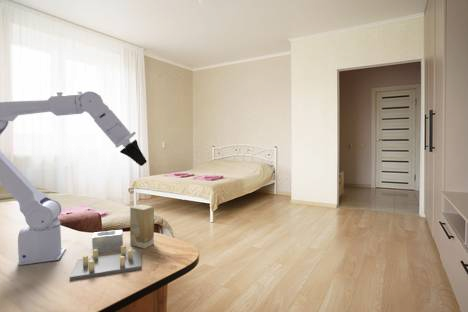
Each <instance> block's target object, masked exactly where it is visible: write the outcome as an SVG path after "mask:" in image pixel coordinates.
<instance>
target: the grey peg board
mask: <svg viewBox="0 0 468 312" xmlns="http://www.w3.org/2000/svg"><path fill="white" fill-rule="evenodd" d="M126 247H127V246H126V245H123V246H121V250H120V253H115V254H109V255H99V253H98V249H94V250H93V249H92V257H89V255H83V256H82V258H81V259H80V258H79V259H77V260H76V262H75V265H74V267H73V269H72V271H71V273H70V275H69V281H74V280H80V279H86V278H87V279H88V278H93V277H100V276H107V275H112V274H119V273H126V272H131V271H139V270H142V258H141V257H142V254H141V250H138V251H133V249H128V250H127V249H126ZM126 251H127V252H126Z"/></svg>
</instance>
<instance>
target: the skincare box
mask: <svg viewBox="0 0 468 312" xmlns="http://www.w3.org/2000/svg"><path fill="white" fill-rule="evenodd" d="M129 211H130V216H129V217H130V218H129V220H130V221H129V223H130V226H129V227H130V229H129V230H130V231H129V233H130V234H129V239H130V241H129V242H130V243H129V244H130V245H131V246H134V247H138V248H142V249H146V248H149V247H150V246H152V245H154V244H155V240H154V239H155V233H154V232H155V206H151V205H145V204H141V203H140V204H138V205H137V204H136V205H134V206H130V207H129Z"/></svg>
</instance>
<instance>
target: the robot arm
mask: <svg viewBox="0 0 468 312" xmlns="http://www.w3.org/2000/svg"><path fill="white" fill-rule="evenodd" d="M85 112H86V113H88V114H89V115H90V116H91V118H92V119H93V121H94V123H95V124H96V125H97V126H98V127H99V128H100V130H101V131H102V132H103V133H104V134H105V136H107V138H109V140H110V141H111V142H112V143H113V144H114V146H115V148H116V149H117V148H119V147H121V146H122V147H123V149H121V150H120V151H119V153H120V154H123V155H124V156H126V157H129V158H130V159H132V161H134V162H135V163H136V164H137V165H139V166H140V167H143V165H145V164H146V163H147V162H148V161H147V160H146V159H147V158H146V157H145V155H144V154H143V152H142V150H141V149H140V147H139V144H138V140H137V139H134V140H133V141H130V139H132V137H134V136H135V135H136V132H135V131H133V132H132V133H131V132H130V130H129V129H128V128H127V127H126V126H125V124H123V122H122V121H121V120H120V119H119V118H118V116H117V115H116V114H115V113H114V111H113V110H111V109H110V108H109V106H108V105H107V104H106V103H104V101H103V98H102V97H101V95H100V94H98V93H97V92H94V91H85V92H84V93H83V92H82V91H77V93H65V94H64V93H63V92H61V91H59V92H58V91H57V92H56V94H53V95H52V94H51V96H50V97H49V98H48V99H42V100H41V99H39V100H20V101H19V100H18V101H13V100H12V101H0V136H1V135H2V134H3V133H4V132H5V130H6V128H7V127H8V125H9V122H14V121H15V120H16V118H18V116H25V115H32V114H43V113H52V114H53V115H54V116H56V117H58V116H59V117H60V116H71V115H81V114H84V113H85ZM0 185H1V186H2V187H3V188H4V189H5V190H6V191H7V193H9V194H10V196H12V197H13V198H14V199H15V200H16V201H17V203H18V205H19V211H20V213H21V214H23V216H24V219H25V222H26V224H27V225H28V227H23V228H21V229H20V230H19V233H18V237H17V251H18V252H17V254H18V263H17V265H18V266H23V265H29V264H38V263H45V262H53V261H59V260H60V259H61V257H62V256H63V255H64V252H66V250H67V249H66V247H62V233H61V229H62V228H61V220H59V218H58V217H59V216H60V215H61V213H62V206H61V204H60V203H59V201H58V200H55V199H52V198H50V197H49V196H48V195H47V194H46V193H44V192H43V191H40V190H39V189H38V188H37V187H36V186H35V185H34V184H33V183H32V182H31V181H30V180H29V179H28V178H27V177H26V175H24V173H23V172H21V170H19V168H18V167H17V166H16V165H15V164H14V163H13V161H11V160H10V159H9V158H8V156H7V155H6V154H5V153H4V152H3V151H2V150H1V149H0Z"/></svg>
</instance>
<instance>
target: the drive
mask: <svg viewBox="0 0 468 312" xmlns="http://www.w3.org/2000/svg"><path fill="white" fill-rule="evenodd" d="M123 237H124V233H123V229H115V230H107V231H97V232H93V235H92V237H91V243H92V245H91V247H92V251H93V250H94V249H98V254H103V253H109V252H110V253H111V252H117V251H121V246H124V240H123V239H124V238H123Z"/></svg>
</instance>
